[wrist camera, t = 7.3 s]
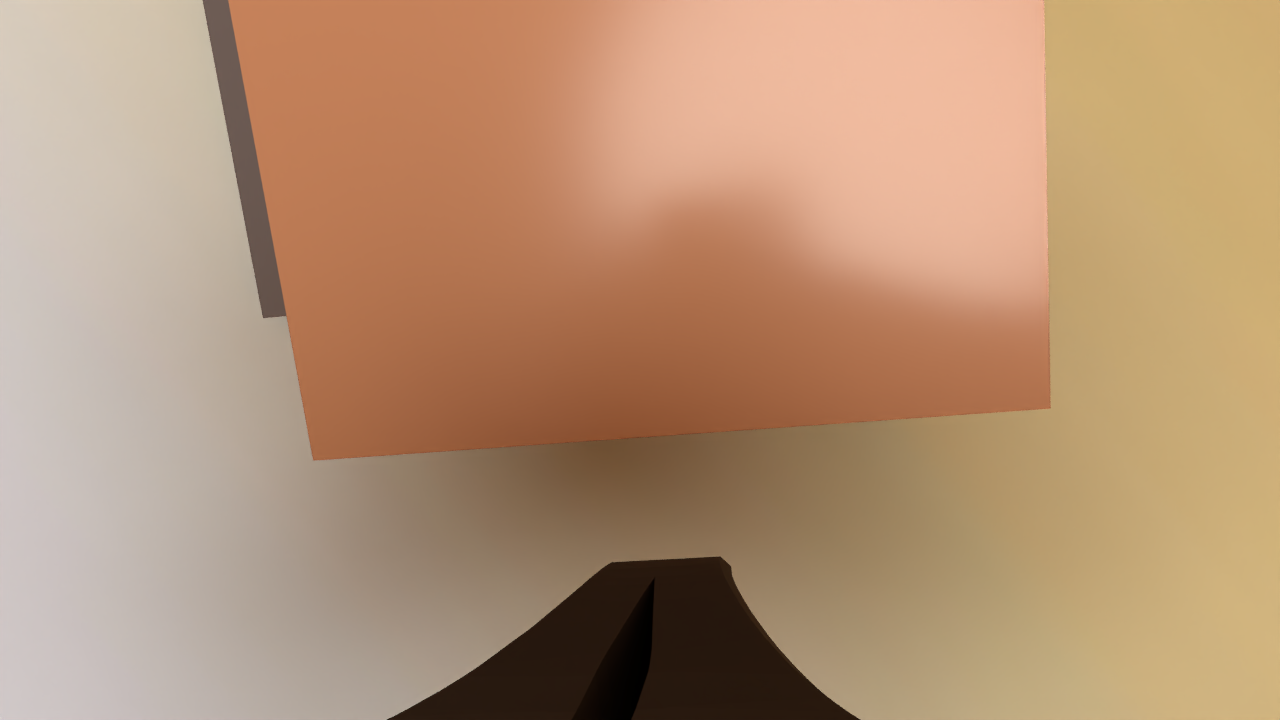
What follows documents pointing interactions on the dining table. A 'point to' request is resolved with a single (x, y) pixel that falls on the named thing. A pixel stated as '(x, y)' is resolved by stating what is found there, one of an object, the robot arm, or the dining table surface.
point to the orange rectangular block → (650, 214)
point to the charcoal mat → (244, 156)
